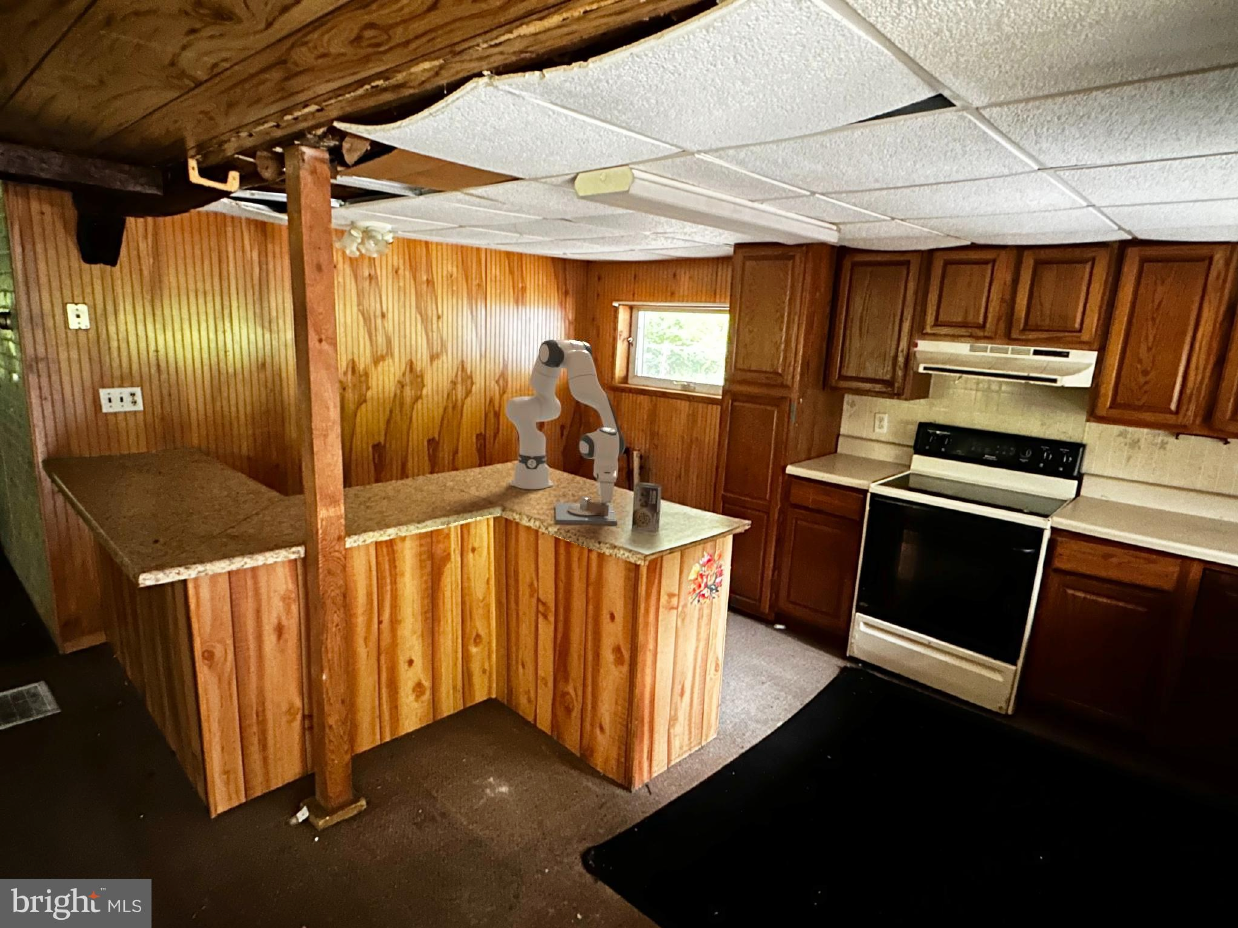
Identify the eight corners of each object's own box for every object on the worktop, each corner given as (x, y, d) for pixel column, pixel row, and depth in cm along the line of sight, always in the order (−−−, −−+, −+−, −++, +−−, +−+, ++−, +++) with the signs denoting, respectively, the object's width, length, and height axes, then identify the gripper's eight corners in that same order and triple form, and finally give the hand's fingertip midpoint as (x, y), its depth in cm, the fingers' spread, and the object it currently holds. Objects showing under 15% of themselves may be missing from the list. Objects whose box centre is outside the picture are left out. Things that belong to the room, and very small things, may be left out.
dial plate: (555, 506, 256) (555, 502, 255) (611, 507, 258) (611, 503, 258) (555, 523, 234) (556, 519, 234) (617, 525, 237) (617, 520, 236)
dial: (560, 509, 245) (561, 497, 244) (585, 503, 255) (585, 491, 254) (593, 520, 234) (594, 507, 233) (618, 514, 243) (619, 501, 242)
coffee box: (659, 527, 237) (662, 484, 234) (655, 532, 231) (659, 488, 228) (635, 524, 239) (638, 481, 236) (630, 529, 233) (633, 485, 230)
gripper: (595, 465, 251) (593, 499, 254) (599, 478, 231) (596, 515, 234) (611, 465, 252) (609, 500, 255) (616, 478, 232) (614, 516, 235)
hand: (603, 507), depth 244 cm, fingers closed
